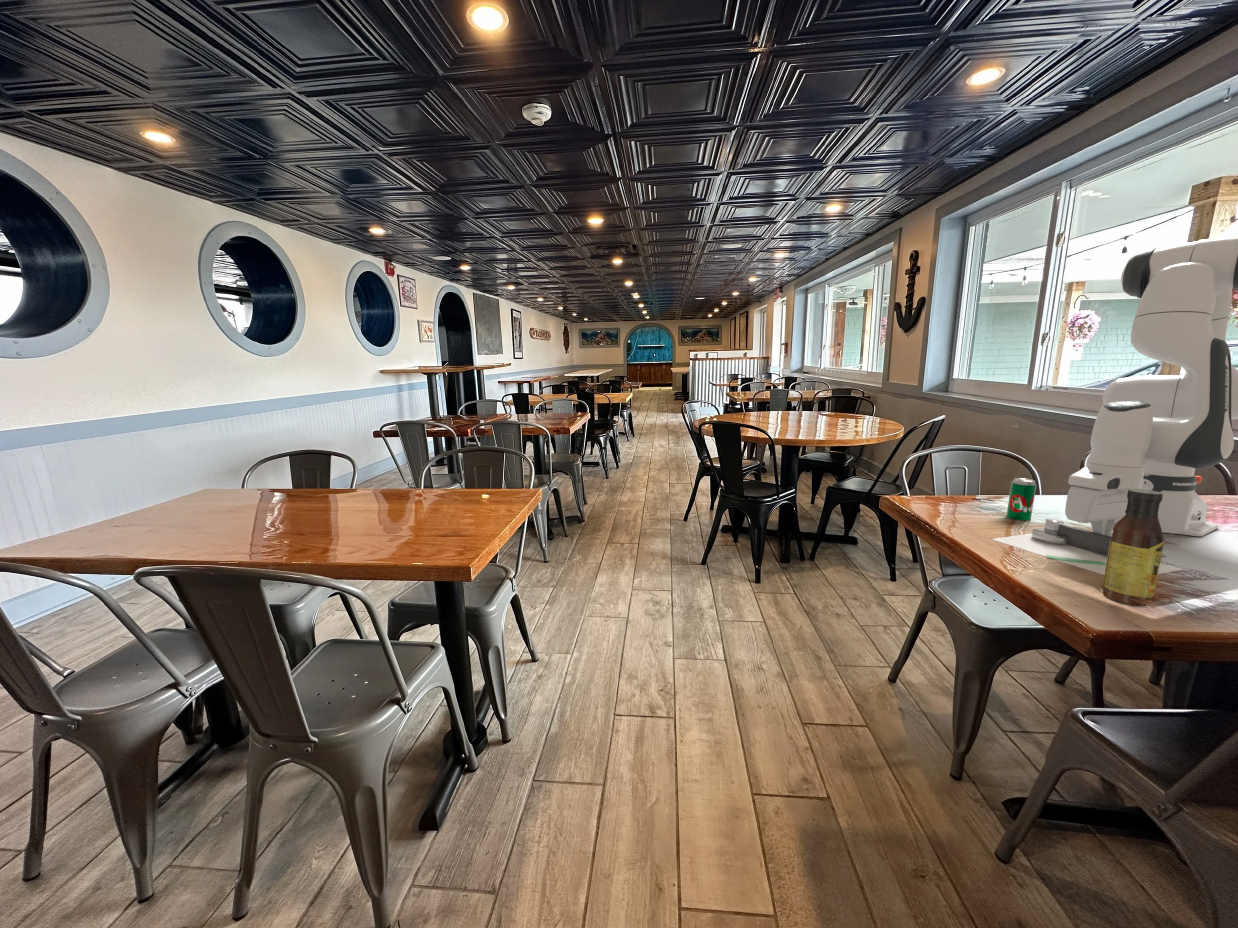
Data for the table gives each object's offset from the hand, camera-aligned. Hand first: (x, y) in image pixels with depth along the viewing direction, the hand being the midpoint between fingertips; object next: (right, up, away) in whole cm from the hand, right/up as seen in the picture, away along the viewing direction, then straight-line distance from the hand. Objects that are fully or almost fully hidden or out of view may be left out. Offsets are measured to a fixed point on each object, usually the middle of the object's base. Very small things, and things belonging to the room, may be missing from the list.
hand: (1101, 537), depth 104 cm
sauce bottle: (-17, -8, -20) cm, 28 cm away
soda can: (0, 0, +22) cm, 22 cm away
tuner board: (-8, -4, -2) cm, 9 cm away
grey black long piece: (-6, -2, +1) cm, 6 cm away
